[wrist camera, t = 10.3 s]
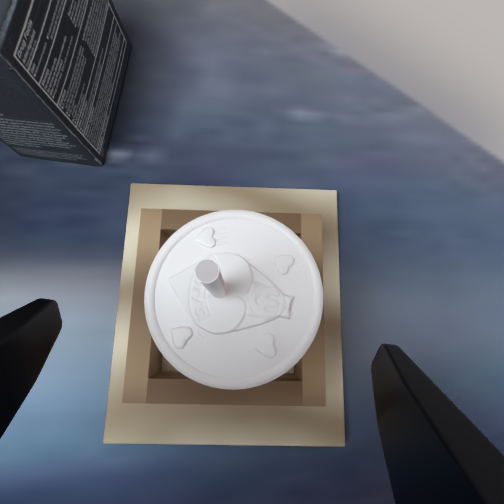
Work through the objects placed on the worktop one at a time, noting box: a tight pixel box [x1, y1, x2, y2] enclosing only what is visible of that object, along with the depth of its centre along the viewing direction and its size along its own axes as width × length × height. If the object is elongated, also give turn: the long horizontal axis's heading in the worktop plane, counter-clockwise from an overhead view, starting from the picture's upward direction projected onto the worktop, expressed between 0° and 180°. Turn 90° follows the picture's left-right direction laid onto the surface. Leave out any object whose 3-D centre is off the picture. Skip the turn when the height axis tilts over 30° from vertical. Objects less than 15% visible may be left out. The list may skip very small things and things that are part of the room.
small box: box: [0, 0, 132, 166], centre depth 20 cm, size 11×6×10 cm, turn 173°
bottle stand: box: [103, 183, 345, 447], centre depth 20 cm, size 16×14×4 cm
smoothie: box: [144, 210, 323, 390], centre depth 14 cm, size 6×6×14 cm
